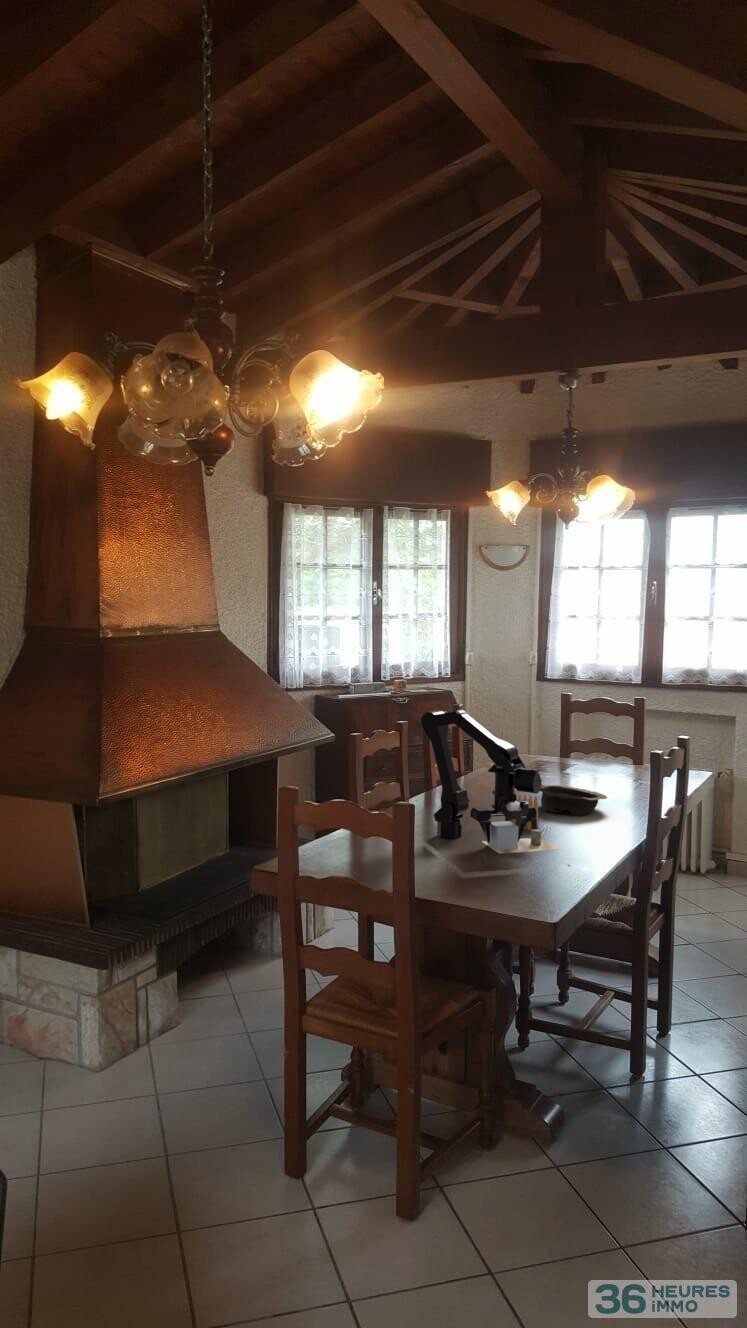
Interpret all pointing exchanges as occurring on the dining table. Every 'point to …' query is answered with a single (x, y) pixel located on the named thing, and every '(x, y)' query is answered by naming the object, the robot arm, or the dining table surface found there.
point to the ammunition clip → (534, 822)
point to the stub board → (529, 844)
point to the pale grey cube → (503, 835)
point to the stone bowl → (569, 799)
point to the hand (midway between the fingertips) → (503, 841)
